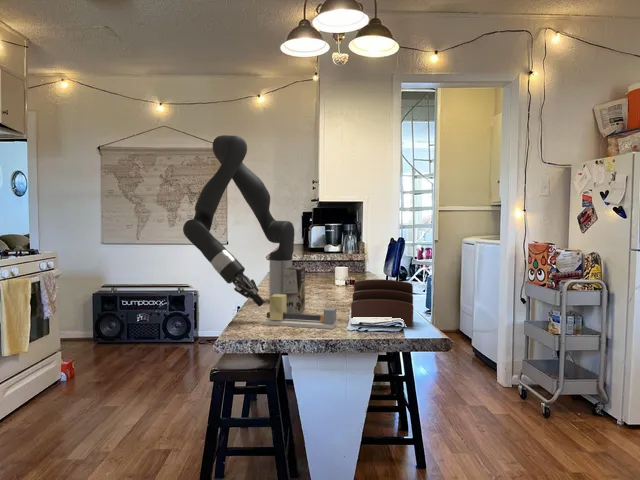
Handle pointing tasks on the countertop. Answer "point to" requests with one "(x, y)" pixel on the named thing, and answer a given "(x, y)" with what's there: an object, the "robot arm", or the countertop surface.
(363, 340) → the countertop surface
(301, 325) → the white base plate
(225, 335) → the countertop surface
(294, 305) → the coffee box
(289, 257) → the robot arm
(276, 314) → the sleeve
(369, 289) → the letter holder
